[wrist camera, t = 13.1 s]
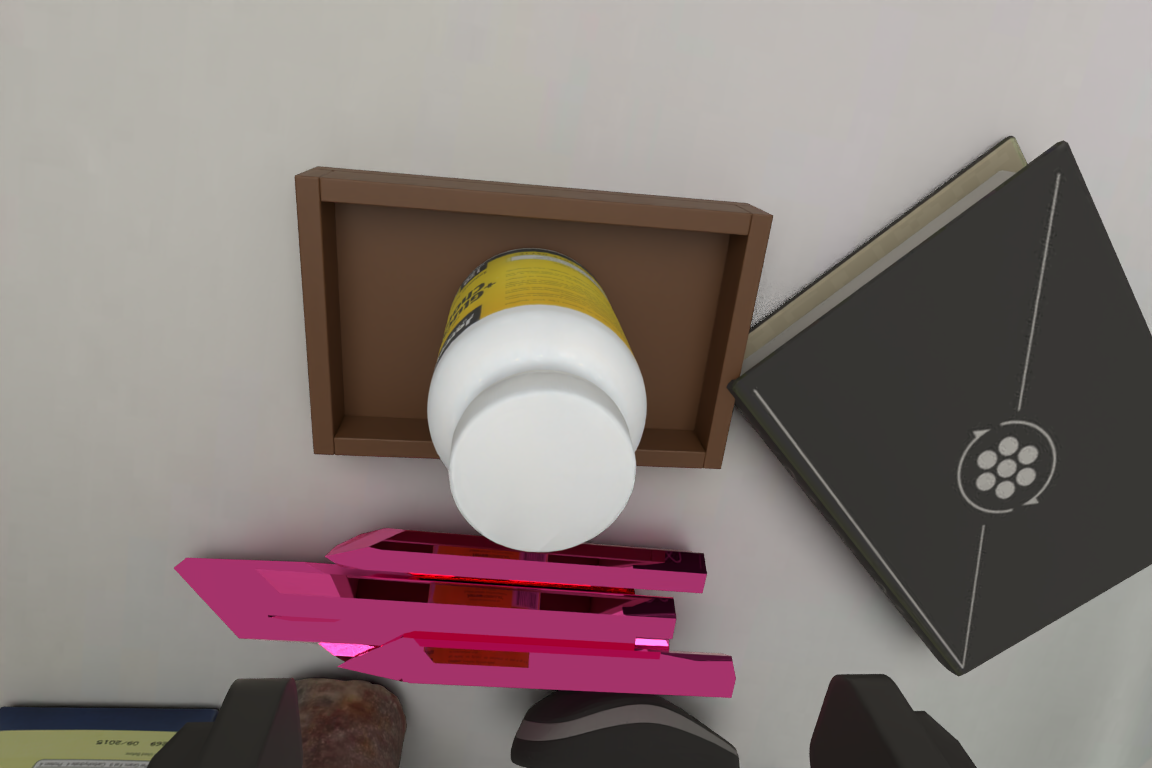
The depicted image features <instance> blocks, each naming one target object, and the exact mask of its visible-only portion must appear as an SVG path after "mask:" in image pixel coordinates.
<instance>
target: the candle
mask: <svg viewBox="0 0 1152 768" xmlns="http://www.w3.org/2000/svg"><path fill="white" fill-rule="evenodd" d="M295 682H296V687H297V696H298V706H299V716H300V726H301V736H302V746H303V766H302V768H399V763H400V759H401V753H402V746H403V741H404V736H405V732H406V728H407V723H406V717H405V715H404V712H403V709H402V706H401V704H400V702H399V700H398V698H397V696H395V695H394V694H393V693H391V692H389V691H388V690H387V689H386V688H385V687H383V686H381V685H379V684H371V683H370V682H368V681H364V680H350V681H341V680H336V679H325V678H308V679H301V680H296V681H295Z"/></svg>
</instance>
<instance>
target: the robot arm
mask: <svg viewBox="0 0 1152 768" xmlns="http://www.w3.org/2000/svg"><path fill="white" fill-rule="evenodd" d="M809 754H810V766H811V768H977V767H976V766H975V765H974V763H973V762H972V760H971V759H970V757H969V756H968V754H967V753H966V752H965V750H964V749H963V747H962V746H961V744H960V743H959V741H958V740H956V739H955V738H954V737H953V736H952V735H951V734H950V733H949V732H947V731H946V730H945V729H944V728H943V727H942V726H941V725H940V724H939V723H937V722H936V721H935V720H934V719H933V718H932V717H931V716H930V715H928V714H927V713H926V712H925V711H913V709H912V708H911V706H910V705H909V703H908V702H907V700H906V699H905V697H904V696H903V694H902V693H901V691H900V690H899V688H898V687H897V685H896V684H895V682H894V681H893V680H892V679H891V678H890V677H888V676H886V675H884V674H845V675H835V676H834V677H833V678H832V680H831V681H830V684H829V687H828V690H827V693H826V696H825V699H824V702H823V705H822V708H821V711H820V714H819V717H818V720H817V723H816V726H815V729H814V732H813V735H812V739H811V742H810V753H809ZM302 766H303V746H302V736H301V726H300V716H299V706H298V696H297V687H296V682H295V680H294V679H293V678H264V679H237V680H235V681H234V683H233V684H232V685H231V687H230V689H229V691H228V693H227V695H226V697H225V699H224V701H223V704H222V706H221V708H220V710H219V712H218V715H217V717H216V719H215V721H214V722H187V723H186V724H185V725H184V726H183V727H182V728H181V729H180V730H179V731H178V732H177V733H176V734H175V735H174V736H173V737H172V738H171V739H170V740H169V741H168V742H167V743H166V744H165V745H164V746H163V747H162V748H161V749H160V750H159V751H158V752H157V753H156V754H155V755H154V756H153V757H152V758H151V760H150V762H149V764H148V766H147V768H302Z"/></svg>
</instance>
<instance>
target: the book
mask: <svg viewBox="0 0 1152 768" xmlns="http://www.w3.org/2000/svg"><path fill="white" fill-rule="evenodd" d="M726 388H727V389H728V390H729V392H730V393H731V394H732V395H733V397H734V398H735V403H734V404H735V405H736V407H737V408H738V409H739V410H740V412H741V413H742V414H743V415H744V417H745V418H746V419H747V420H748V422H749V423H750V424H751V425H752V427H753V428H754V429H755V430H756V432H757V433H758V434H759V435H760V437H761V438H762V439H763V440H764V442H765V443H766V444H767V446H768V447H769V448H770V449H771V451H772V452H773V453H774V454H775V456H776V457H777V458H778V459H779V461H780V462H781V463H782V464H783V466H784V467H785V468H786V469H787V471H788V472H789V473H790V474H791V476H792V477H793V478H794V480H795V481H796V482H797V483H798V485H799V486H800V487H801V488H802V490H803V491H804V492H805V493H806V495H807V496H808V497H809V498H810V500H811V501H812V502H813V503H814V505H815V506H816V507H817V508H818V510H819V511H820V512H821V514H822V515H823V516H824V517H825V519H826V520H827V521H828V522H829V524H830V525H831V526H832V527H833V529H834V530H835V531H836V532H837V534H838V535H839V536H840V537H841V539H842V540H843V541H844V542H845V544H846V545H847V546H848V547H849V549H850V550H851V551H852V553H853V554H854V555H855V556H856V558H857V559H858V560H859V561H860V563H861V564H862V565H863V566H864V568H865V569H866V570H867V571H868V573H869V574H870V575H871V576H872V578H873V579H874V580H875V581H876V583H877V584H878V585H879V587H880V588H881V589H882V590H883V592H884V593H885V594H886V595H887V597H888V598H889V599H890V600H891V602H892V603H893V604H894V605H895V607H896V608H897V609H898V610H899V612H900V613H901V614H902V615H903V617H904V618H905V619H906V621H907V622H908V623H909V624H910V626H911V627H912V628H913V629H914V631H915V632H916V633H917V634H918V636H919V637H920V638H921V639H922V641H923V642H924V643H925V644H926V646H927V647H928V648H929V649H930V651H931V652H932V653H933V654H934V656H935V657H936V658H937V659H938V661H939V662H940V663H941V664H942V665H943V666H944V667H946V668H947V669H948V670H949V671H951V672H952V673H954V674H955V675H957V676H961V675H963V674H966V673H967V672H969V671H971V670H972V669H974V668H976V667H977V666H979V665H981V664H983V663H984V662H986V661H988V660H989V659H991V658H993V657H994V656H996V655H998V654H1000V653H1001V652H1003V651H1005V650H1006V649H1008V648H1010V647H1011V646H1013V645H1015V644H1017V643H1018V642H1020V641H1022V640H1023V639H1025V638H1027V637H1028V636H1030V635H1032V634H1034V633H1035V632H1037V631H1039V630H1040V629H1042V628H1044V627H1045V626H1047V625H1049V624H1051V623H1052V622H1054V621H1056V620H1057V619H1059V618H1061V617H1062V616H1064V615H1066V614H1068V613H1069V612H1071V611H1073V610H1074V609H1076V608H1078V607H1079V606H1081V605H1083V604H1085V603H1086V602H1088V601H1090V600H1091V599H1093V598H1095V597H1096V596H1098V595H1100V594H1102V593H1103V592H1105V591H1107V590H1108V589H1110V588H1112V587H1113V586H1115V585H1117V584H1119V583H1120V582H1122V581H1124V580H1125V579H1127V578H1129V577H1131V576H1132V575H1134V574H1136V573H1137V572H1139V571H1141V570H1142V569H1144V568H1146V567H1148V566H1149V565H1151V564H1152V335H1151V333H1150V331H1149V328H1148V326H1147V324H1146V322H1145V319H1144V317H1143V315H1142V312H1141V310H1140V308H1139V305H1138V303H1137V301H1136V299H1135V296H1134V294H1133V292H1132V289H1131V287H1130V285H1129V282H1128V280H1127V278H1126V276H1125V273H1124V271H1123V269H1122V266H1121V264H1120V262H1119V259H1118V257H1117V255H1116V253H1115V250H1114V248H1113V246H1112V243H1111V241H1110V239H1109V236H1108V234H1107V232H1106V230H1105V227H1104V225H1103V223H1102V220H1101V218H1100V216H1099V213H1098V211H1097V209H1096V207H1095V204H1094V202H1093V200H1092V197H1091V195H1090V193H1089V190H1088V188H1087V186H1086V184H1085V181H1084V179H1083V177H1082V174H1081V172H1080V170H1079V167H1078V165H1077V163H1076V161H1075V158H1074V156H1073V154H1072V151H1071V149H1070V147H1069V144H1068V143H1067V142H1065V141H1061V142H1058V143H1056V144H1055V145H1053V146H1052V147H1051V148H1049V149H1048V150H1047V151H1045V152H1044V153H1042V154H1041V155H1040V156H1038V157H1037V158H1036V159H1034V160H1033V161H1032V162H1030V163H1029V164H1027V162H1026V160H1025V158H1024V156H1023V154H1022V151H1021V149H1020V147H1019V145H1018V143H1017V141H1016V139H1015V137H1013V136H1009V137H1007V138H1005V139H1004V140H1003V141H1001V142H1000V143H999V144H997V145H996V146H995V147H993V148H992V149H991V150H989V151H988V152H987V153H985V154H984V155H983V156H981V157H980V158H979V159H977V160H976V161H975V162H973V163H972V164H971V165H969V166H968V167H967V168H965V169H964V170H963V171H961V172H960V173H959V174H957V175H956V176H955V177H953V178H952V179H951V180H949V181H948V182H947V183H945V184H944V185H943V186H941V187H940V188H939V189H937V190H936V191H935V192H933V193H932V194H931V195H929V196H928V197H926V198H925V199H924V200H922V201H921V202H920V203H918V204H917V205H916V206H914V207H913V208H912V209H910V210H909V211H908V212H906V213H905V214H904V215H902V216H901V217H900V218H898V219H897V220H896V221H894V222H893V223H892V224H890V225H889V226H888V227H886V228H885V229H884V230H882V231H881V232H880V233H878V234H877V235H876V236H874V237H873V238H872V239H870V240H869V241H868V242H866V243H865V244H864V245H862V246H861V247H860V248H858V249H857V250H856V251H854V252H853V253H852V254H850V255H849V256H848V257H846V258H845V259H844V260H842V261H841V262H840V263H838V264H837V265H836V266H834V267H833V268H832V269H830V270H829V271H828V272H826V273H825V274H824V275H822V276H821V277H820V278H818V279H817V280H816V281H814V282H813V283H812V284H810V285H809V286H808V287H806V288H805V289H804V290H802V291H801V292H800V293H798V294H797V295H796V296H794V297H793V298H792V299H790V300H789V301H788V302H786V303H785V304H784V305H782V306H781V307H780V308H778V309H777V310H776V311H774V312H773V313H772V314H770V315H769V316H768V317H766V318H765V319H764V320H762V321H761V322H760V323H758V324H757V325H756V326H754V327H753V328H752V329H750V330H749V335H748V340H747V345H746V350H745V354H744V359H743V364H742V369H741V374H740V377H738V378H737V379H736V380H731V381H730V382H729V383H728V385H727V387H726Z"/></svg>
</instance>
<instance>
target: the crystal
mask: <svg viewBox="0 0 1152 768" xmlns="http://www.w3.org/2000/svg"><path fill="white" fill-rule="evenodd" d="M325 557H326V558H328V559H329V560H331V561H332V562H334V563H335V564H325V563H311V562H289V561H262V560H234V559H206V558H185V559H184V560H183V561H182V562H181V563H179V564H178V565H177V566H176V567H174V569H175V570H176V571H177V572H178V573H179V574H180V575H181V576H182V578H183V579H184V580H185V581H186V582H187V583H188V584H189V585H190V586H191V587H192V588H193V589H194V590H195V592H196V593H197V594H198V595H199V596H200V597H201V598H202V599H203V600H204V601H205V602H206V603H207V604H208V606H209V607H210V608H211V609H212V610H213V611H214V612H215V613H216V614H217V615H218V616H219V617H220V618H221V620H222V621H223V622H224V623H225V624H226V625H227V626H228V627H229V628H230V629H231V630H232V631H233V632H234V633H235V635H236V636H237V637H238V638H240V639H253V640H265V641H282V642H300V643H318V644H320V645H321V646H322V647H324V648H325V649H326V650H328V651H329V652H330V653H331V654H333V655H334V656H336V657H338V658H339V659H341V660H343V661H345V662H344V663H343V664H341V665H339V666H337V667H340V668H344V669H349V670H353V671H358V672H362V673H367V674H371V675H375V676H380V677H384V678H389V679H393V680H398V681H403V682H408V683H421V684H443V685H465V686H486V687H508V688H530V689H551V690H573V691H595V692H616V693H638V694H660V695H681V696H703V697H725V698H731V697H732V693H733V689H734V684H735V680H736V677H735V672H734V667H733V661H732V656H729V655H726V654H721V653H703V652H685V651H669V639H672V638H673V633H674V628H675V623H676V613H675V606H674V599H673V597H663V596H648V595H635V591H634V589H647V590H661V591H676V592H690V593H703V588H704V584H705V580H706V576H707V571H706V565H705V558H704V553H696V552H692V551H683V550H670V549H657V548H645V547H632V546H620V545H607V544H594V543H582V544H579V545H577V546H575V547H571V548H568V549H564V550H559V551H552V552H526V551H520V550H515V549H511V548H508V547H505V546H503V545H500V544H497V543H495V542H493V541H492V540H490V539H488V538H486V537H485V536H480V535H468V534H455V533H442V532H430V531H417V530H404V529H392V528H383V529H379V530H375V531H371V532H367V533H363V534H360V535H358V536H356V537H354V538H352V539H349V540H347V541H345V542H343V543H341V544H339V545H337V546H336V547H334V548H333V549H332V550H331V551H330V552H329V553H328V554H327V555H326V556H325Z"/></svg>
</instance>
